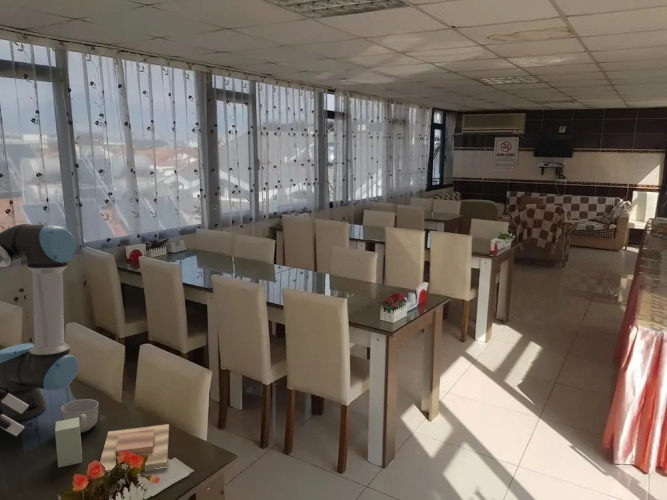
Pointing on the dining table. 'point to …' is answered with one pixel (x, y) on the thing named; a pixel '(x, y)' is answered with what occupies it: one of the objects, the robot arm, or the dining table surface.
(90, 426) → the teacup
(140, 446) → the stand
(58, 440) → the pillar block
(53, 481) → the dining table surface
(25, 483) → the dining table surface
